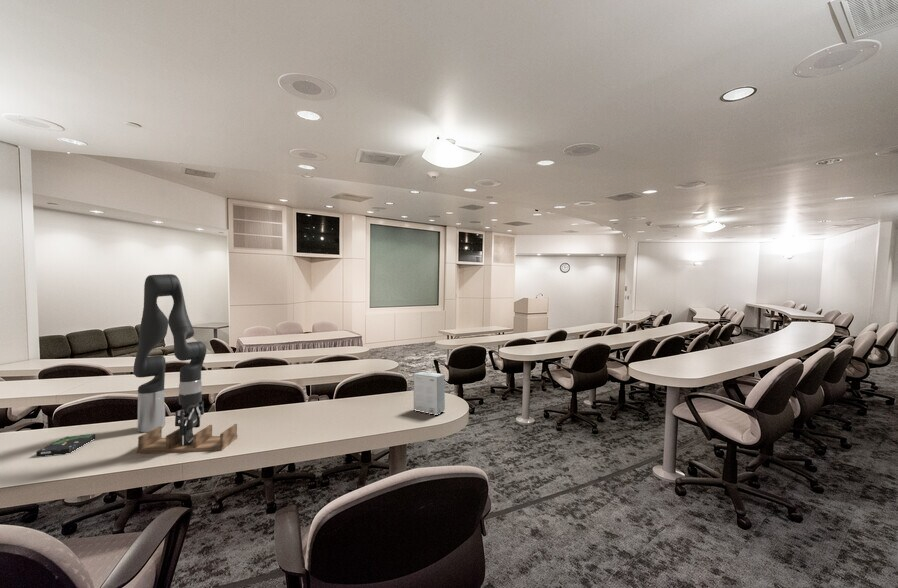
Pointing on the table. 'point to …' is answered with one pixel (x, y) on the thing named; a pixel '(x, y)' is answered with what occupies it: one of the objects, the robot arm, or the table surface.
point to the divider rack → (172, 443)
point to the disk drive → (65, 445)
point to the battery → (189, 430)
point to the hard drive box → (429, 392)
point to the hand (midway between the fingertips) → (190, 431)
